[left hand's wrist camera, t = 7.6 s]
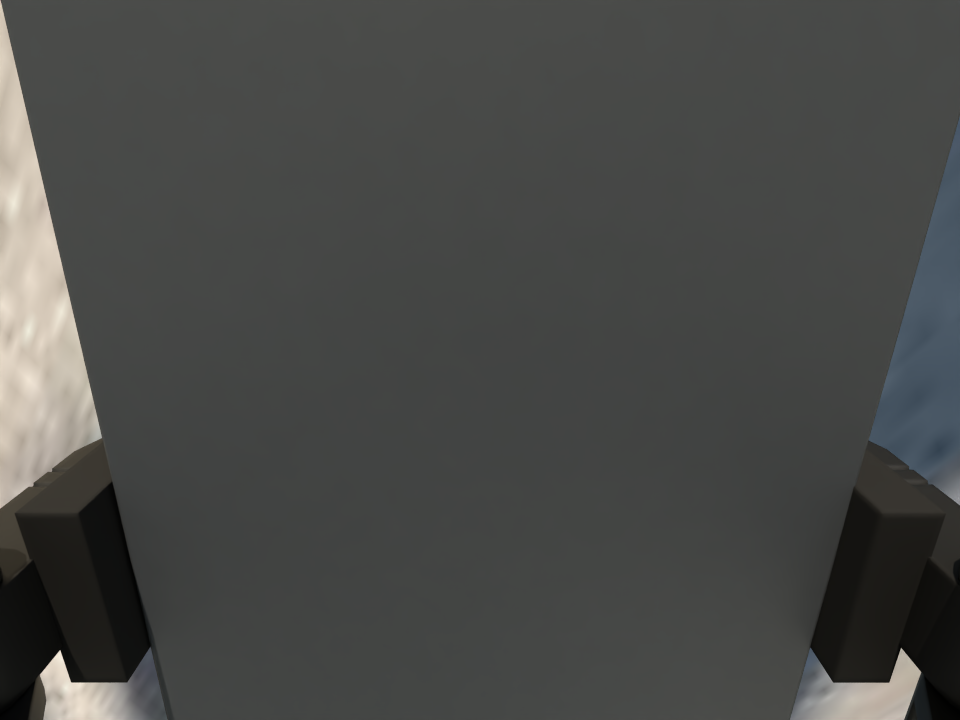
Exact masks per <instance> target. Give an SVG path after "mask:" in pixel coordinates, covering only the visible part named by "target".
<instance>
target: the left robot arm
mask: <svg viewBox="0 0 960 720" xmlns="http://www.w3.org/2000/svg"><path fill="white" fill-rule="evenodd" d="M810 647H811V649H812V650H813V652H814V653H815V655H816V657H817V658H818V660H819V661H820V663H821V664H822V666H823V667H824V669H825V670H826V672H827V674H828V675H829V677H830V678H831V680H832V681H833V683H889V682H890V679H891V676H892V673H893V670H894V667H895V664H896V661H897V658H898V655H899V652H900V649H901V648H902V649H903V650H904V652H905V653H906V654H907V655H908V656H909V658H910V659H911V660H912V661H913V662H914V664H915V665H916V666H917V667H918V669H919V670H920V671H921V675H920V678H919V680H918V683H917V686H916V689H915V692H914V694H913V697H912V700H911V703H910V705H909V708H908V711H907V714H906V717H905V719H904V720H960V505H958V504H957V503H956V502H955V501H953V500H952V499H951V498H949V497H948V496H947V495H945V494H944V493H943V492H942V491H940V490H939V489H938V488H936V487H935V486H934V485H928V481H927V480H926V479H925V478H923V477H922V476H921V475H919V474H918V473H917V472H916V471H914V470H909V466H908V465H906V464H905V463H904V462H902V461H901V460H900V459H899V458H897V457H896V456H895V455H893V454H892V453H891V452H889V451H888V450H887V449H885V448H883V447H881V446H879V445H876V444H874V443H872V442H870V441H868V443H867V447H866V450H865V454H864V458H863V461H862V465H861V468H860V472H859V475H858V479H857V482H856V486H854V488H853V492H852V496H851V499H850V503H849V507H848V511H847V514H846V518H845V522H844V526H843V529H842V533H841V537H840V541H839V544H838V548H837V552H836V556H835V560H834V563H833V567H832V571H831V575H830V578H829V582H828V585H827V589H826V593H825V596H824V600H823V603H822V607H821V610H820V614H819V617H818V621H817V624H816V628H815V632H814V635H813V639H812V642H811V646H810ZM149 648H150V641H149V637H148V633H147V628H146V624H145V620H144V616H143V611H142V607H141V603H140V598H139V594H138V590H137V585H136V581H135V577H134V572H133V568H132V564H131V559H130V555H129V551H128V547H127V542H126V538H125V534H124V529H123V525H122V521H121V516H120V512H119V508H118V503H117V499H116V495H115V490H114V486H113V482H112V478H111V473H110V469H109V465H108V460H107V456H106V452H105V447H104V443H103V439H102V438H101V439H99V440H97V441H95V442H93V443H91V444H89V445H87V446H85V447H83V448H81V449H78V450H76V451H74V452H73V453H72V454H70V455H69V456H68V457H67V458H65V459H64V460H63V461H61V462H60V463H59V464H58V465H56V466H55V467H54V468H52V472H47V473H46V474H45V475H43V476H42V477H41V478H39V479H38V480H37V481H36V482H34V486H33V487H28V488H27V489H25V490H24V491H23V492H21V493H20V494H19V495H18V496H16V497H15V498H14V499H12V500H11V501H10V502H9V503H7V504H6V505H5V506H3V507H2V508H1V509H0V720H43V717H44V711H45V705H46V696H45V690H44V686H43V683H42V680H41V678H40V674H41V673H42V671H43V670H44V669H45V668H46V666H47V665H48V664H49V663H50V662H51V660H52V659H53V658H54V657H55V655H56V654H57V653H58V652H59V651H60V650H61V653H62V656H63V659H64V662H65V665H66V668H67V671H68V674H69V677H70V680H71V682H128V680H129V679H130V677H131V676H132V674H133V673H134V671H135V670H136V668H137V666H138V665H139V663H140V662H141V660H142V659H143V657H144V656H145V654H146V653H147V651H148V649H149Z"/></svg>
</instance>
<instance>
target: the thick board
mask: <svg viewBox="0 0 960 720" xmlns="http://www.w3.org/2000/svg"><path fill="white" fill-rule="evenodd" d="M1 3H2V8H3V12H4V16H5V20H6V25H7V29H8V33H9V38H10V42H11V46H12V51H13V55H14V59H15V64H16V68H17V72H18V77H19V81H20V85H21V89H22V94H23V98H24V102H25V107H26V111H27V115H28V120H29V124H30V128H31V133H32V137H33V141H34V146H35V150H36V154H37V158H38V163H39V167H40V171H41V176H42V180H43V184H44V189H45V193H46V197H47V202H48V206H49V210H50V215H51V219H52V223H53V227H54V232H55V236H56V240H57V245H58V249H59V253H60V258H61V262H62V266H63V271H64V275H65V279H66V284H67V288H68V292H69V296H70V301H71V305H72V309H73V314H74V318H75V322H76V327H77V331H78V335H79V340H80V344H81V348H82V353H83V357H84V361H85V365H86V370H87V374H88V378H89V383H90V387H91V391H92V396H93V400H94V404H95V409H96V413H97V417H98V422H99V426H100V430H101V434H102V439H103V443H104V447H105V452H106V456H107V460H108V465H109V469H110V473H111V478H112V482H113V486H114V490H115V495H116V499H117V503H118V508H119V512H120V516H121V521H122V525H123V529H124V534H125V538H126V542H127V547H128V551H129V555H130V559H131V564H132V568H133V572H134V577H135V581H136V585H137V590H138V594H139V598H140V603H141V607H142V611H143V616H144V620H145V624H146V628H147V633H148V637H149V641H150V646H151V650H152V654H153V659H154V663H155V667H156V672H157V676H158V680H159V685H160V689H161V693H162V697H163V702H164V706H165V710H166V715H167V719H168V720H790V717H791V713H792V710H793V706H794V703H795V699H796V696H797V692H798V688H799V685H800V681H801V678H802V674H803V671H804V667H805V664H806V660H807V656H808V653H809V649H810V646H811V642H812V639H813V635H814V632H815V628H816V624H817V621H818V617H819V614H820V610H821V607H822V603H823V600H824V596H825V593H826V589H827V585H828V582H829V578H830V575H831V571H832V567H833V563H834V560H835V556H836V552H837V548H838V544H839V541H840V537H841V533H842V529H843V526H844V522H845V518H846V514H847V511H848V507H849V503H850V499H851V496H852V492H853V488H854V486H856V482H857V479H858V475H859V472H860V468H861V465H862V461H863V458H864V454H865V450H866V447H867V443H868V440H869V436H870V433H871V429H872V426H873V422H874V418H875V415H876V411H877V408H878V404H879V401H880V397H881V394H882V390H883V387H884V383H885V379H886V376H887V372H888V369H889V365H890V362H891V358H892V355H893V351H894V347H895V344H896V340H897V337H898V333H899V330H900V326H901V323H902V319H903V315H904V312H905V308H906V305H907V301H908V298H909V294H910V291H911V287H912V284H913V280H914V276H915V273H916V269H917V266H918V262H919V259H920V255H921V252H922V248H923V244H924V241H925V237H926V234H927V230H928V227H929V223H930V220H931V216H932V212H933V209H934V205H935V202H936V198H937V195H938V191H939V188H940V184H941V181H942V177H943V173H944V170H945V166H946V163H947V159H948V156H949V152H950V149H951V145H952V141H953V138H954V134H955V131H956V127H957V124H958V120H959V117H960V0H1Z"/></svg>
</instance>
